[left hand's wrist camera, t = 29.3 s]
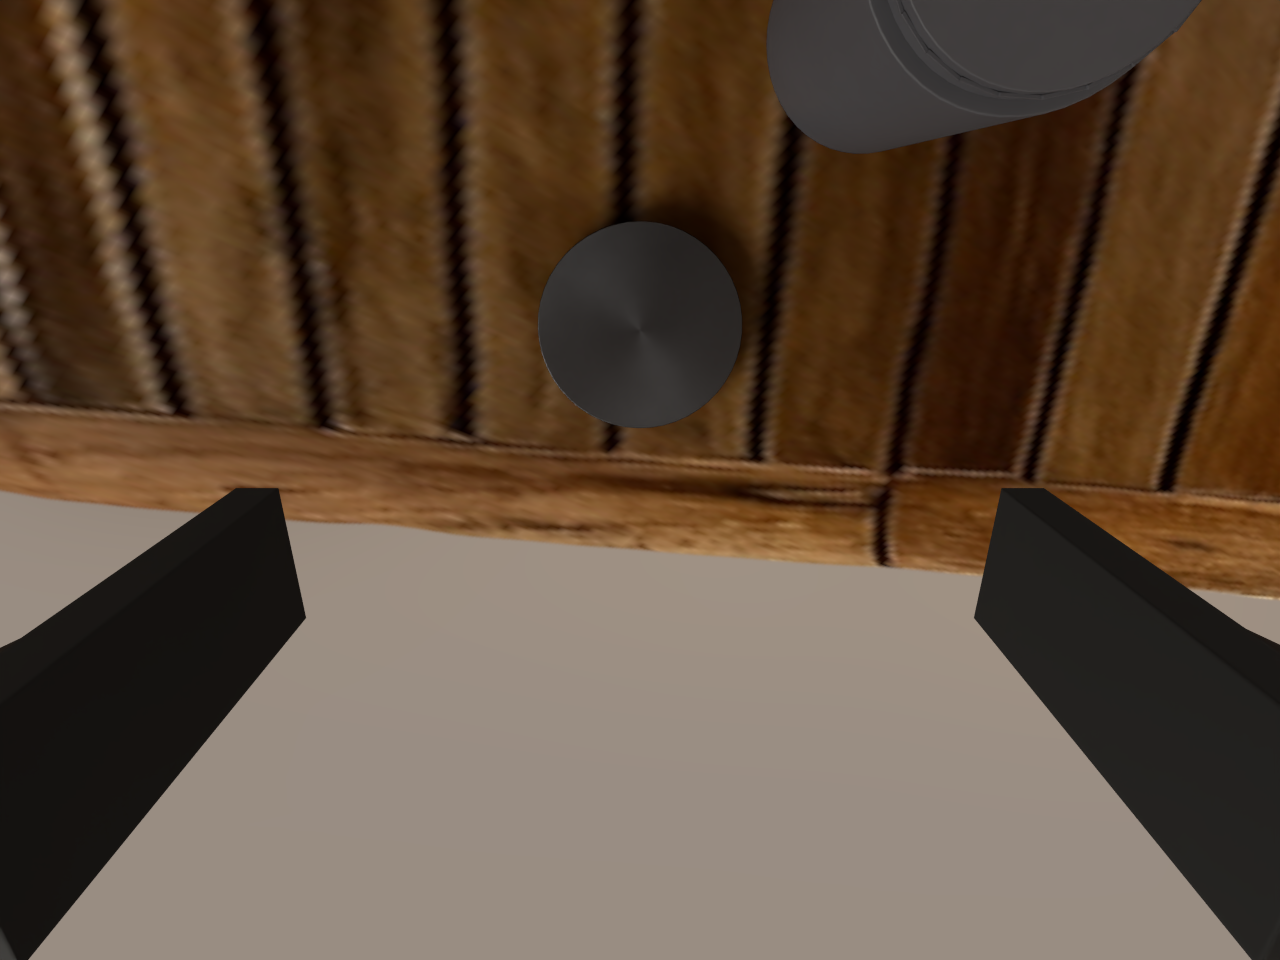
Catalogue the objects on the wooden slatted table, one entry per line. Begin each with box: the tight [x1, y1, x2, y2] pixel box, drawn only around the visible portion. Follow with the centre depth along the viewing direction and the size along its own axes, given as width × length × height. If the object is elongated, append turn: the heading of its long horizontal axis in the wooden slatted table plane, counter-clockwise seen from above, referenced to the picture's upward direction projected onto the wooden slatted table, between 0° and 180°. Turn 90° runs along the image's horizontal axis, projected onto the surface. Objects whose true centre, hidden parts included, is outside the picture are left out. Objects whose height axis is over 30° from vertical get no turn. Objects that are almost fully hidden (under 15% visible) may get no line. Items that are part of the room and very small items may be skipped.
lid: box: [538, 221, 742, 428], centre depth 38 cm, size 11×11×2 cm
